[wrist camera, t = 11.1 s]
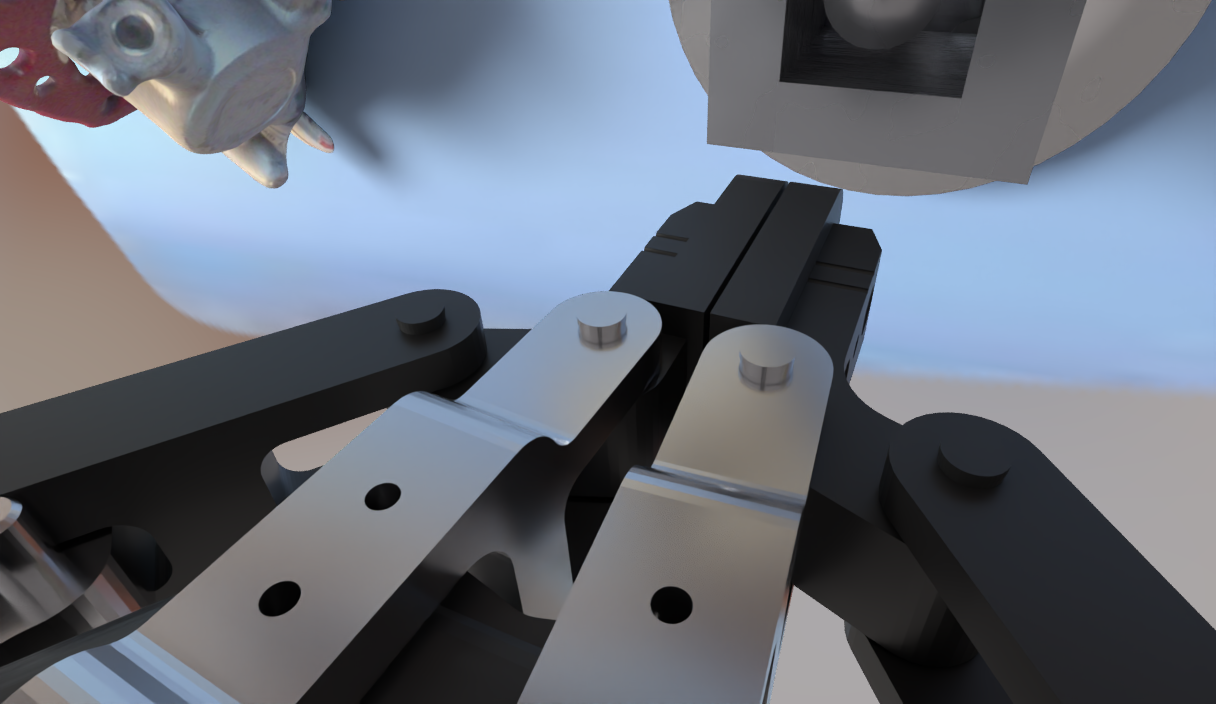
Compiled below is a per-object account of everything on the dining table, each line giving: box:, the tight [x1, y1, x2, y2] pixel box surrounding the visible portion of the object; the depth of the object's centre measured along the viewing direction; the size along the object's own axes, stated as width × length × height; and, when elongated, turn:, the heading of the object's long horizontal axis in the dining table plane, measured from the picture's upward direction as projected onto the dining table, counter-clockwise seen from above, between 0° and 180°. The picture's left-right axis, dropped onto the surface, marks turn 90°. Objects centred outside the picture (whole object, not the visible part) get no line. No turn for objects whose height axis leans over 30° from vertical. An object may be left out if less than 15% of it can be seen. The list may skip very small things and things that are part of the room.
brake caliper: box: [0, 0, 344, 188], centre depth 22 cm, size 11×11×12 cm
